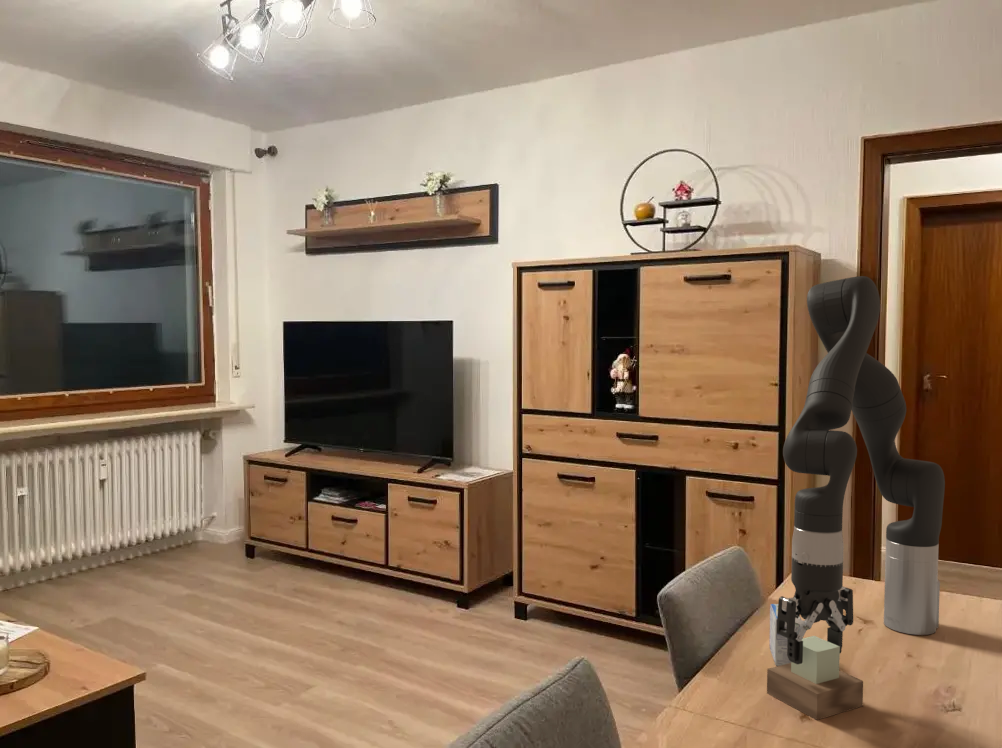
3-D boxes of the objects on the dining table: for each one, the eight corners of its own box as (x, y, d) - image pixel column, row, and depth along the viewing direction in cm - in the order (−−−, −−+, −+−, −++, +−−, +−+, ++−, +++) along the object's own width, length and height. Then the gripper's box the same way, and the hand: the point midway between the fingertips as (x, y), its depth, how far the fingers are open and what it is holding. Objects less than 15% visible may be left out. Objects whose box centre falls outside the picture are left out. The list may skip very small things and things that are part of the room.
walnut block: (811, 681, 133) (811, 657, 133) (862, 706, 124) (863, 681, 124) (766, 693, 129) (767, 668, 129) (816, 720, 120) (817, 693, 120)
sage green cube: (813, 665, 130) (814, 635, 129) (839, 677, 125) (839, 646, 125) (791, 671, 127) (791, 640, 127) (816, 683, 123) (817, 652, 123)
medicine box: (801, 668, 138) (802, 619, 138) (774, 666, 139) (775, 617, 139) (794, 651, 146) (795, 604, 146) (768, 649, 147) (769, 602, 146)
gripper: (829, 545, 132) (827, 641, 133) (765, 555, 125) (763, 657, 126) (868, 556, 125) (866, 658, 126) (803, 568, 119) (800, 675, 120)
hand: (814, 657), depth 126 cm, fingers open, 8 cm apart
